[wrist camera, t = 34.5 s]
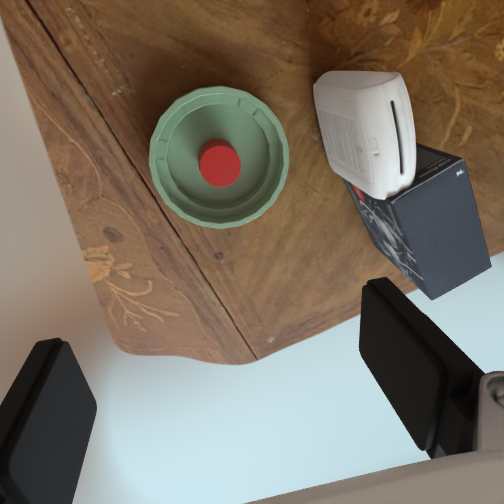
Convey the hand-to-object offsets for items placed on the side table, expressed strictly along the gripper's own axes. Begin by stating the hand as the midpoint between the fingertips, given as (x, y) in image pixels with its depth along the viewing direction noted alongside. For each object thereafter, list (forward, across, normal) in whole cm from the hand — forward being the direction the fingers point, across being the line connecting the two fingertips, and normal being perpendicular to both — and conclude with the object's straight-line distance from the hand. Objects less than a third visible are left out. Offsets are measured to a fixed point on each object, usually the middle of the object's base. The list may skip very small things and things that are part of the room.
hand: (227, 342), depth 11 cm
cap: (+28, -2, 0) cm, 28 cm away
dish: (+28, -2, 0) cm, 28 cm away
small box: (+28, -21, +7) cm, 36 cm away
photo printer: (+28, -15, -2) cm, 32 cm away
